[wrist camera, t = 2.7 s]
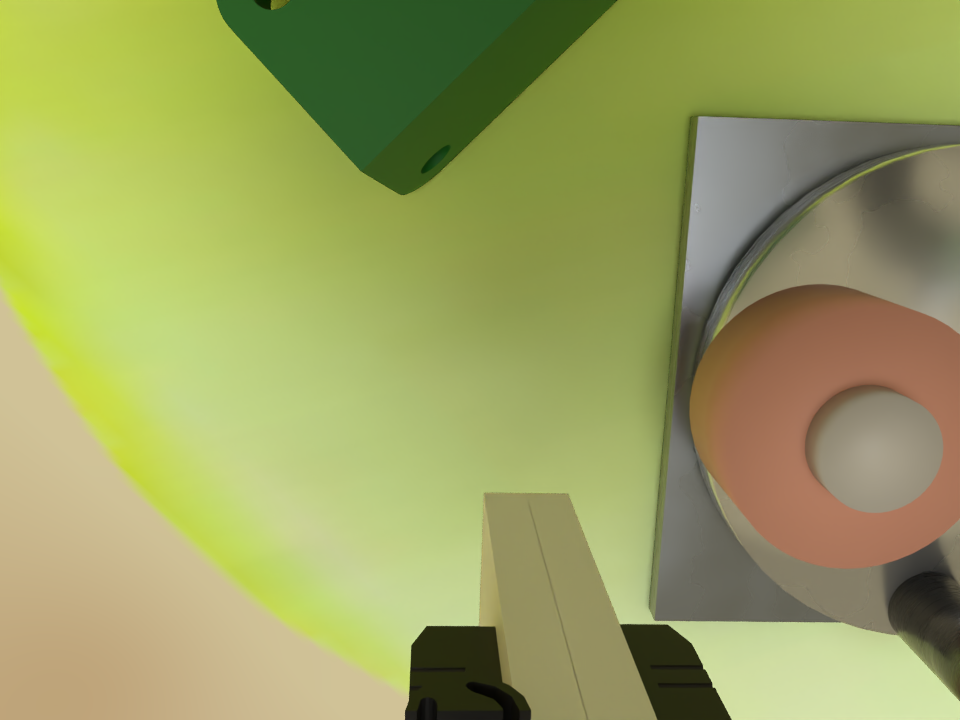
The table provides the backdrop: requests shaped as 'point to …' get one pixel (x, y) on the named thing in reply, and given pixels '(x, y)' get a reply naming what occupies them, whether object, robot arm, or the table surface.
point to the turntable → (901, 280)
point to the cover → (834, 424)
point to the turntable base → (701, 277)
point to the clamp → (407, 69)
